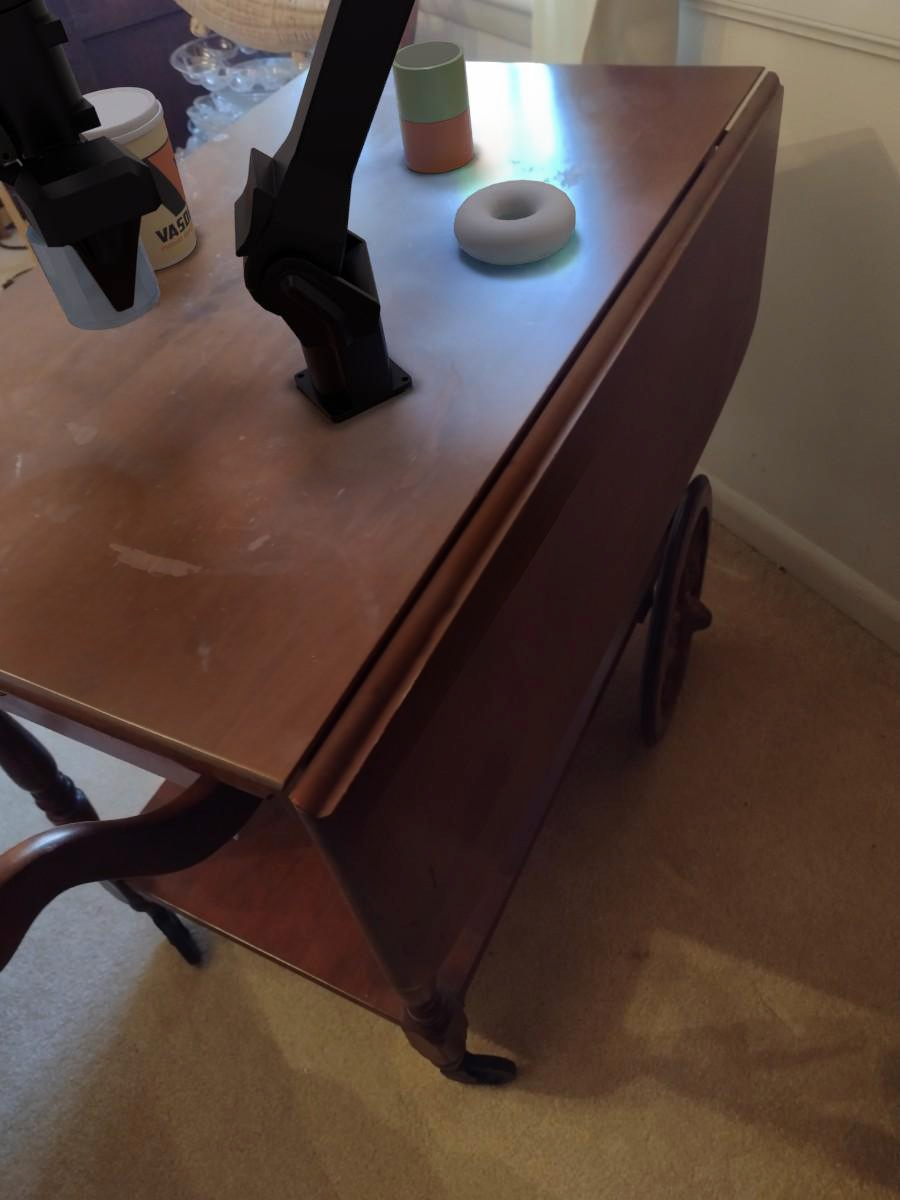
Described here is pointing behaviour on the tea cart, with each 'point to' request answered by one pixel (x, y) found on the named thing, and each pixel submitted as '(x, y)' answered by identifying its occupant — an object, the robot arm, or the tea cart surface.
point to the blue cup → (91, 286)
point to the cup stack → (433, 106)
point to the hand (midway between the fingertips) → (107, 288)
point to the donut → (514, 222)
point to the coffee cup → (144, 133)
